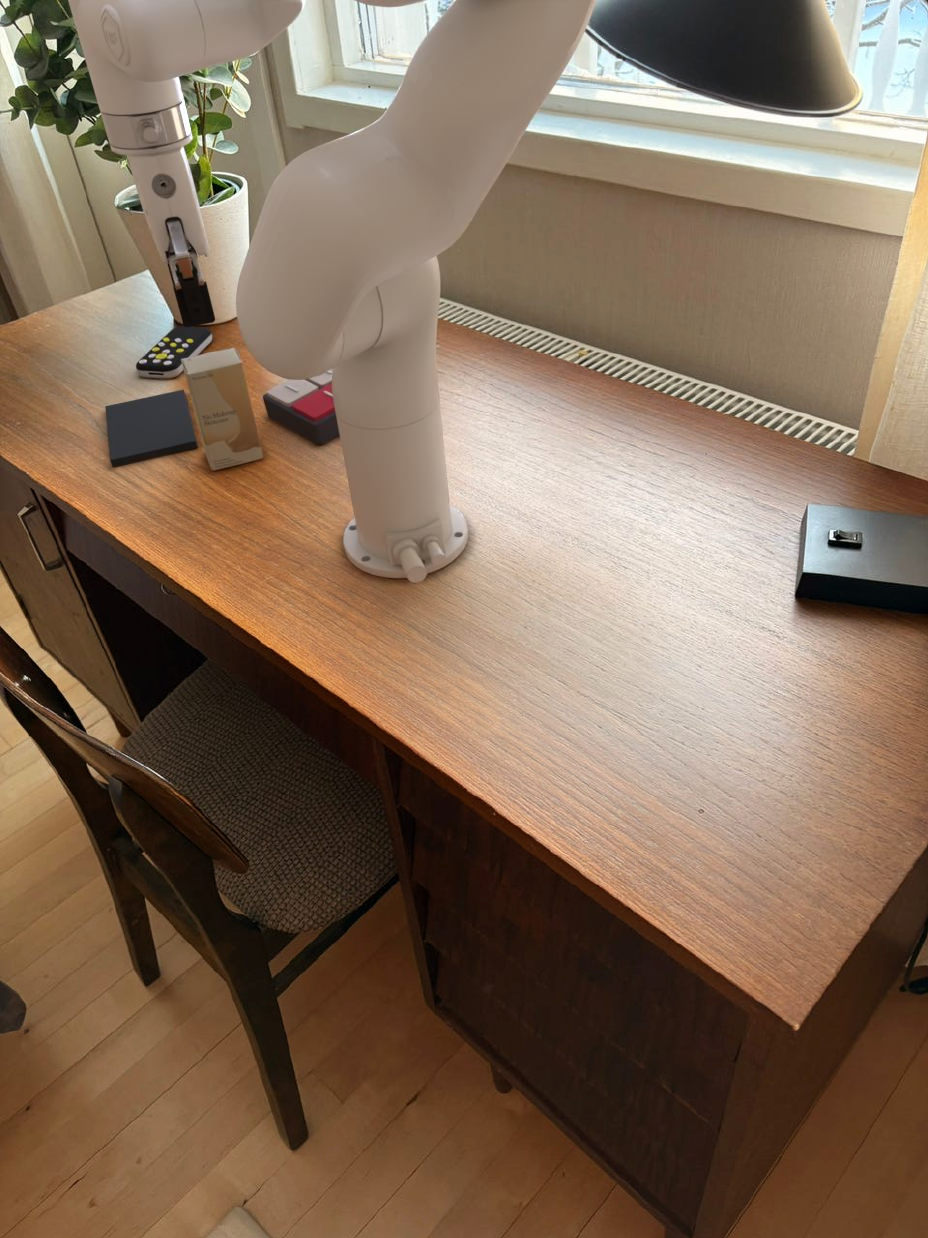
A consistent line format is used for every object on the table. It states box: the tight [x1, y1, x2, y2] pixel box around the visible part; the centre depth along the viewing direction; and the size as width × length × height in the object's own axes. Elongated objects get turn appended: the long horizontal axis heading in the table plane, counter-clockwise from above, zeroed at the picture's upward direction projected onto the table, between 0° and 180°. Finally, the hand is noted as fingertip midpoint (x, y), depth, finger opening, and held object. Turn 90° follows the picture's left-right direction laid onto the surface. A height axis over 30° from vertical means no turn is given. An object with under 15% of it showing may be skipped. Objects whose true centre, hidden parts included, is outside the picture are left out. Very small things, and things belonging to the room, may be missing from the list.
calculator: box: [262, 368, 340, 446], centre depth 116 cm, size 11×4×15 cm
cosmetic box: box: [181, 347, 264, 471], centre depth 106 cm, size 6×4×12 cm
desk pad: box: [104, 389, 199, 468], centre depth 116 cm, size 14×10×1 cm
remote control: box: [135, 325, 213, 380], centre depth 130 cm, size 6×13×2 cm, turn 166°
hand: (194, 304), depth 98 cm, fingers open, 9 cm apart
